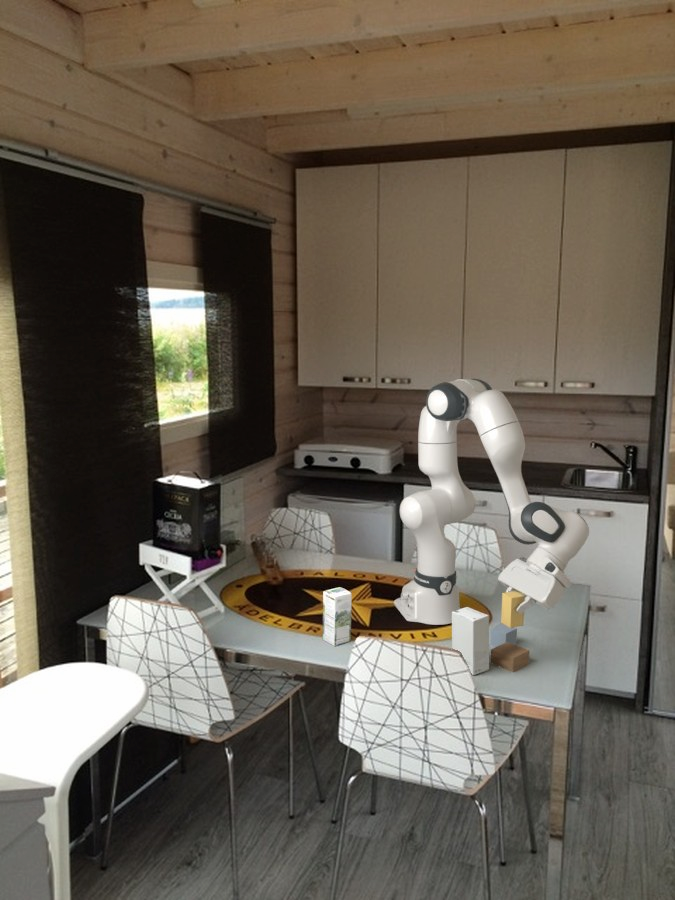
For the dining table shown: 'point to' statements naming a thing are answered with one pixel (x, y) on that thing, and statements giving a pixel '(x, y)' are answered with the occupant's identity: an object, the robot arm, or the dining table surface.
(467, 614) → the skincare box
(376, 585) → the dining table surface
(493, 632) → the slate cube
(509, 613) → the ochre post
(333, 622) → the syrup box
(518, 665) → the walnut block
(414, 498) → the robot arm
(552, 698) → the dining table surface
